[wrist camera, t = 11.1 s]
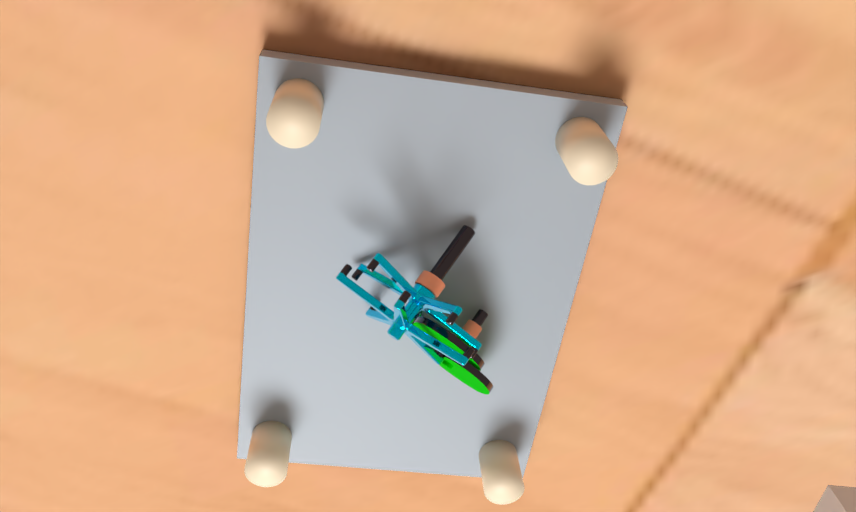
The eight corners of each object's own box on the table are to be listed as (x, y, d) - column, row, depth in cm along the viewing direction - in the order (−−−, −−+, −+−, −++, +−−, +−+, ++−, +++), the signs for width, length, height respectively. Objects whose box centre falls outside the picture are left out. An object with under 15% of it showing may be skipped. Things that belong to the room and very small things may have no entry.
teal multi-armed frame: (301, 271, 40) (399, 319, 34) (382, 166, 42) (488, 196, 36) (420, 381, 48) (515, 434, 42) (484, 289, 50) (583, 329, 44)
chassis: (239, 444, 50) (228, 494, 46) (262, 49, 38) (250, 73, 34) (519, 467, 52) (529, 516, 48) (621, 99, 40) (645, 127, 37)
